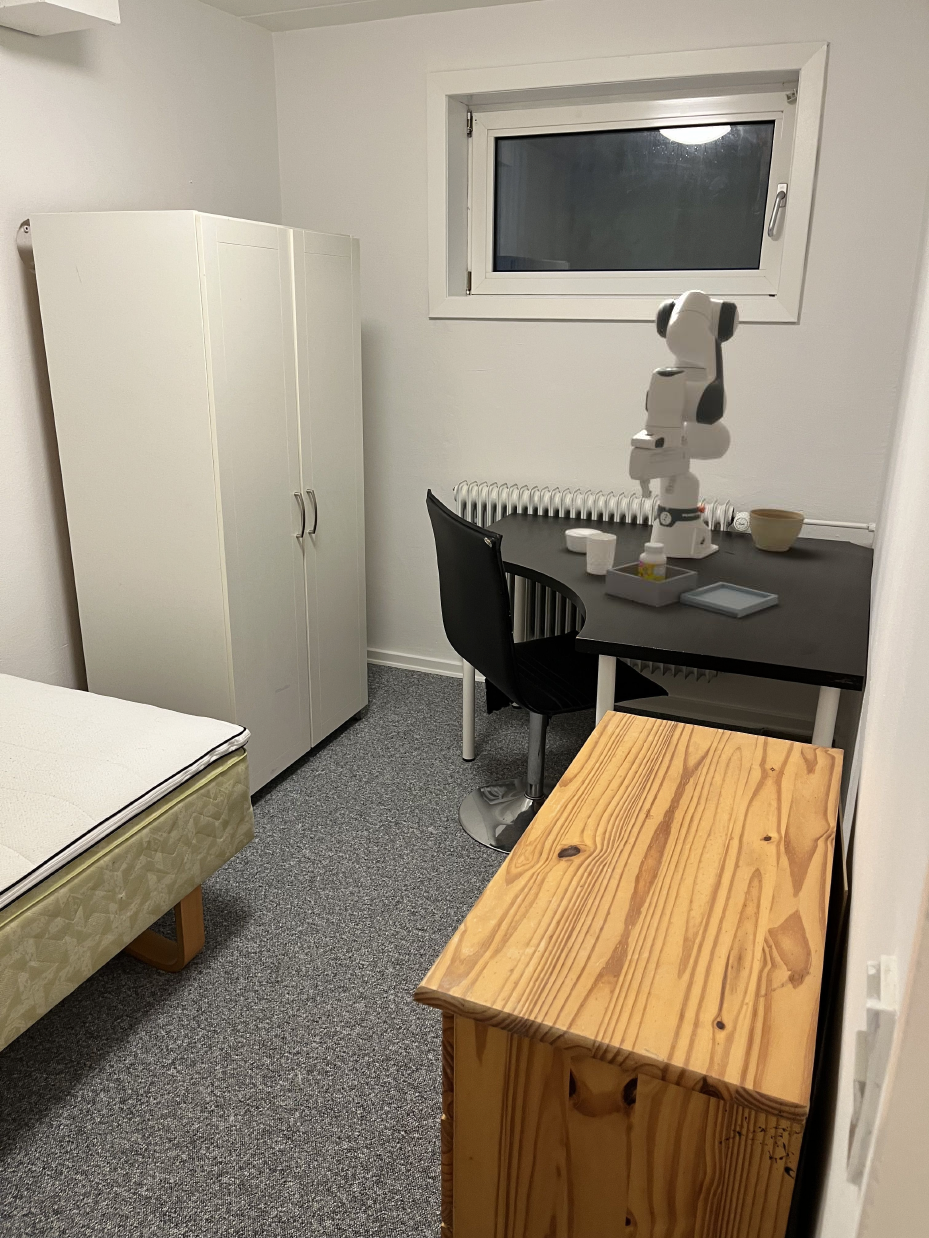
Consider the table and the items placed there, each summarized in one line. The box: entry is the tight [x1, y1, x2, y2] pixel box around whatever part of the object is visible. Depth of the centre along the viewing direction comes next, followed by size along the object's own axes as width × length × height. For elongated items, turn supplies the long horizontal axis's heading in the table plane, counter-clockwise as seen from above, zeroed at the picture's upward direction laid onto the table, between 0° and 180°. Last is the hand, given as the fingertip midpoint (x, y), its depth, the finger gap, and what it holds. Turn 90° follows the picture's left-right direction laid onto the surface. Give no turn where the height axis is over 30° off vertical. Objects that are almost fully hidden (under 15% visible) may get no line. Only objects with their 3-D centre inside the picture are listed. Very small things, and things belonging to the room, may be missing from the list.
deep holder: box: [604, 561, 698, 608], centre depth 228 cm, size 16×16×6 cm
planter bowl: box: [748, 508, 806, 552], centre depth 278 cm, size 16×16×11 cm
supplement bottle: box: [638, 542, 668, 582], centre depth 227 cm, size 7×7×13 cm
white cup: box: [586, 532, 617, 576], centre depth 247 cm, size 8×8×10 cm
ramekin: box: [564, 527, 603, 554], centre depth 273 cm, size 11×11×5 cm
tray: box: [679, 581, 779, 619], centre depth 223 cm, size 18×16×2 cm
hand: (658, 495), depth 221 cm, fingers open, 8 cm apart
